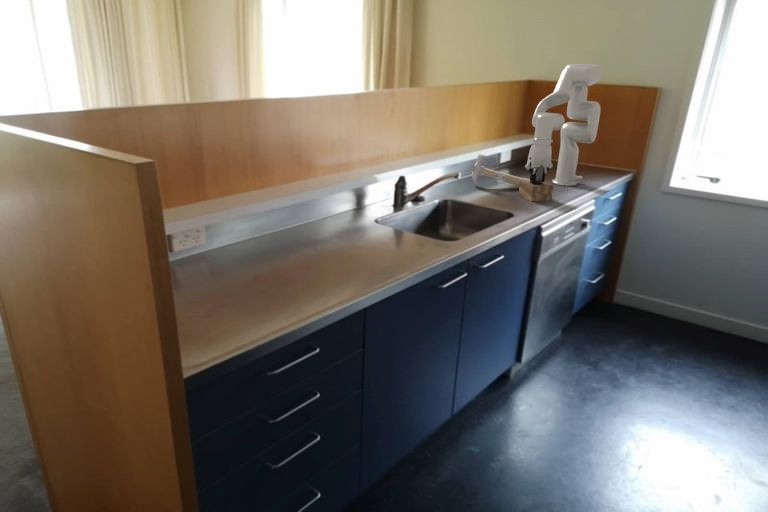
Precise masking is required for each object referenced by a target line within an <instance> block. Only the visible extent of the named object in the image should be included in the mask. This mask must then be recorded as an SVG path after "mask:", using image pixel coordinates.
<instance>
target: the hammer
mask: <svg viewBox="0 0 768 512" xmlns="http://www.w3.org/2000/svg"><path fill="white" fill-rule="evenodd" d="M486 160H487V155H485V154H482V153H478V154H477V156H476V162H475V164H474V166H473V168H472V171H471V177H472V180H473V182H474V184H475V186H477V187H478V188H480V186H479V184H478V177H479V176H481V177H483V176H486V177H489V178H493V179H496V180H499V181H502V182H505V183H508V184H511V185H514V186H520V181H530V178H525V177H520V176H515V175H512V174H508V173H505V172H502V171H497V170H494V169H491V168H487V167H485V166H483V163H485V162H486Z"/></svg>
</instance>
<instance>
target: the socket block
mask: <svg viewBox="0 0 768 512" xmlns="http://www.w3.org/2000/svg"><path fill="white" fill-rule="evenodd" d="M553 193H554V185H553V184H550V183H549V182H546V181H544V182H542V184H541V185H534V184H532V182H530V181H520V186H519V188H518V196H519V197H520V198H523V199H525V200H528V201H530V202H543V201H545V202H546V201H552V200H553V199H552V198H553Z"/></svg>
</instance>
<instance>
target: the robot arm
mask: <svg viewBox="0 0 768 512" xmlns="http://www.w3.org/2000/svg"><path fill="white" fill-rule="evenodd" d="M602 69H603V68H602V67H601V66H600V64H593V63H570V64H567V65H566V66H565V67H564V69H563V70H562V71H561V73H560V75H559V77H558V81H557V83H556V84H555V88H554V90H553V92H552V93H550V94H548V95H547V96H546V97H545V98H543V99H542V100H541V101H540V102H539V103H538V104H537V106H536V108H535V110H534V114H533V115H532V119H531V125H532V126H533V127H534V128H535V129H534V135H533V136H534V138H533V144H531V146H530V148H529V151H528V156H527V161H526V162H527V163H526V164H525V166H524V168H525V169H526V170H527V171H528V172H529V179H530V182H532V183H534V182H535V176H536V174H535V171H536V168H539V167H540V166H541V165H542V164H543V167H544V170H543V177H542V182H545V179H546V175H547V173H548V172H549V171H550V170H551V169H552V168H553V163H552V153H553V152H552V145H551V144H553V142H554V140H553V139H552V137H553V131H559V130H560V146H559V147H560V148H559V152H558V153H559V154H558V160H557V167H556V174H555V178H554V179H552V181H551V182H552V183H553V184H555V185H558V186H564V185H565V186H568V187H570V186H573V185H574V186H576V185H577V184H578V182H577V181H580V180H583V176H582V175H577V174H576V173H577V172H576V171H577V166H578V160H579V153H580V149H579V146H578V144H577V143H582V144H592V143H594V142H595V141H596V137H597V133H598V128H599V122H600V116H601V104H600V103H599V102H598V101H594V100H593V101H592V100H588V91H589V89H588V87H590V86H593V85H595V84H597V83H598V82H599V81H600V80H601V79H602V74H603V73H602V72H603V70H602ZM566 103H567V107H566V108H567V109H566V116H567V118H568V119H570V120H574V121H568V122H566V121H565V117H564V115H563V114H561V113H554V112H546V111H548V110H549V109H550V108H554V107H556V106H559V105H564V104H566ZM575 120H577V121H584V122H585V121H586V122H587V123H583V122H575Z"/></svg>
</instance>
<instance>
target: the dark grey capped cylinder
mask: <svg viewBox="0 0 768 512" xmlns="http://www.w3.org/2000/svg"><path fill="white" fill-rule="evenodd" d="M543 170H544V167H543V164H542V165H541V166H540V167H539V168H536V171H535V174H536V176H535V182H534V183H532V184H534V185H541V184H542V177H543Z"/></svg>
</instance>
